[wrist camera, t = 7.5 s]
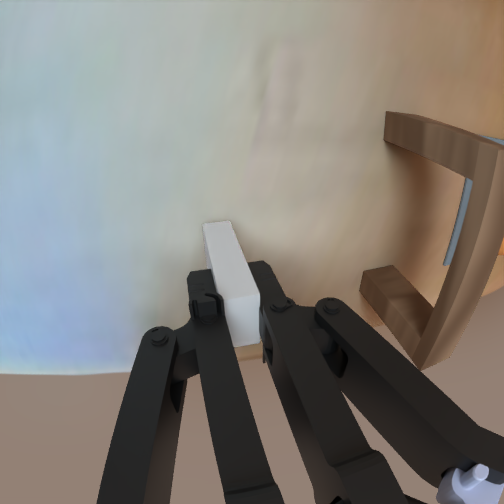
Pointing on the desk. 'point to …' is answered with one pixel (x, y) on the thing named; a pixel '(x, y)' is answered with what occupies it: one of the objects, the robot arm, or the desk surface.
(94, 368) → the desk surface
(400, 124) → the bridge
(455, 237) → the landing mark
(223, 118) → the desk surface
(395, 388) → the robot arm
